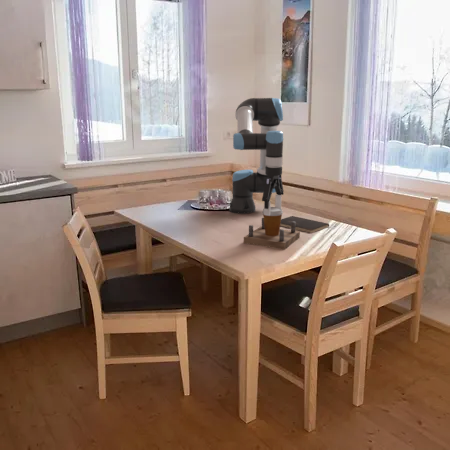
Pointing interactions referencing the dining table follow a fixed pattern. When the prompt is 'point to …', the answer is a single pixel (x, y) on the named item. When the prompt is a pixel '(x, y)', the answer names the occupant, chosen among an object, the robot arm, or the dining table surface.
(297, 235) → the peg board
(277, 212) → the disposable coffee cup
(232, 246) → the dining table surface
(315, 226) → the hardcover book
